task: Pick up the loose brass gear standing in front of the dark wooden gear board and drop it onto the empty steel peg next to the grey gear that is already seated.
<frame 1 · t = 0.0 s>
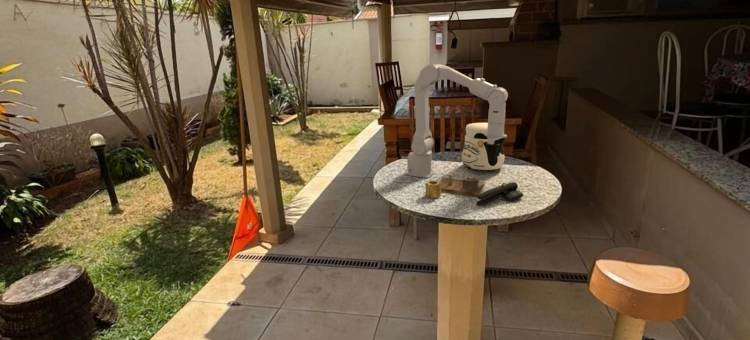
hand: (493, 158, 143), 10 cm above the table, tool pointing down, fingers open, 7 cm apart
can opener: (497, 201, 132), on the table
milk container: (482, 168, 165), on the table
brass gear: (433, 195, 137), on the table
gear board: (458, 188, 143), on the table
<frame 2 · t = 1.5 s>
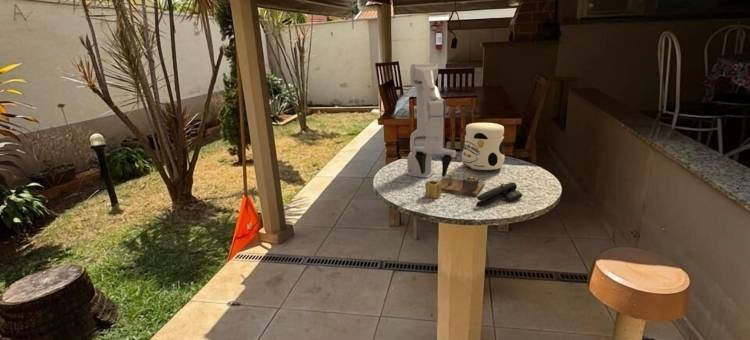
hand: (433, 174, 134), 8 cm above the table, tool pointing down, fingers open, 7 cm apart
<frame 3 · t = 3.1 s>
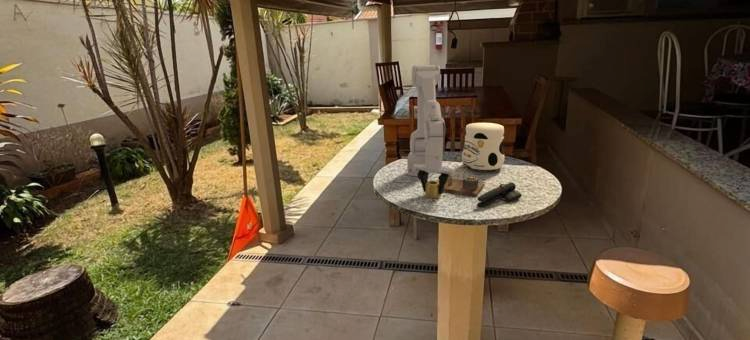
hand: (433, 192, 136), 1 cm above the table, tool pointing down, fingers closed on brass gear, 5 cm apart
brass gear: (433, 195, 137), on the table, touching gripper
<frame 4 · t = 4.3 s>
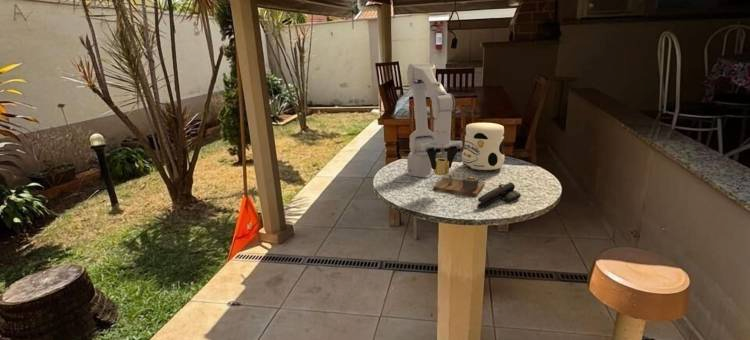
hand: (441, 167, 137), 9 cm above the table, tool pointing down, fingers closed on brass gear, 5 cm apart
brass gear: (441, 173, 137), point 7 cm above the table, touching gripper
when the fingers open (4 cm above the table, at t = 6.0 s): brass gear stays where it is, resting on gear board.
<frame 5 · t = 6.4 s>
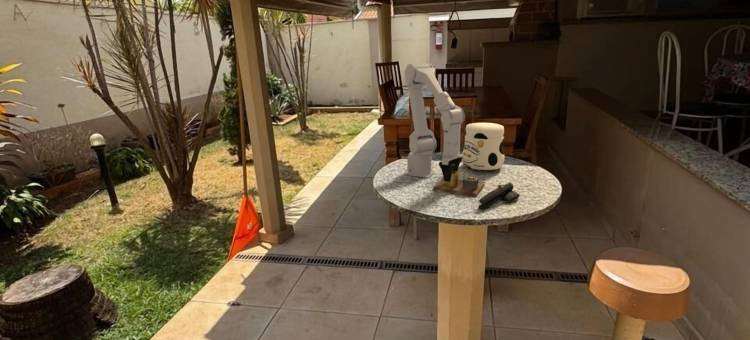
hand: (450, 177, 142), 4 cm above the table, tool pointing down, fingers open, 7 cm apart
brass gear: (451, 184, 143), point 1 cm above the table, touching gear board
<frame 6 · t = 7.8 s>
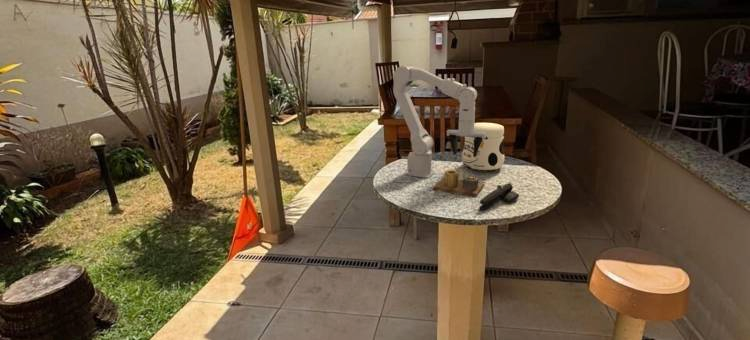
hand: (465, 155, 149), 10 cm above the table, tool pointing down, fingers open, 7 cm apart
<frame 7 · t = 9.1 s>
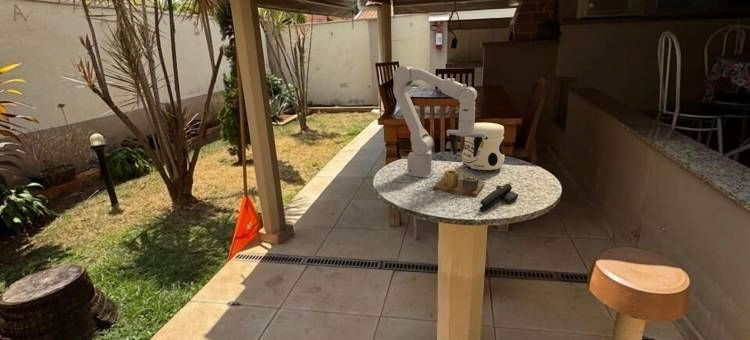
hand: (465, 155, 149), 10 cm above the table, tool pointing down, fingers open, 7 cm apart
at the end: brass gear 0.4 cm from the target spot on the gear board, point 1.2 cm above the gear board's base; brass gear tilted 0°; the gripper is holding nothing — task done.
